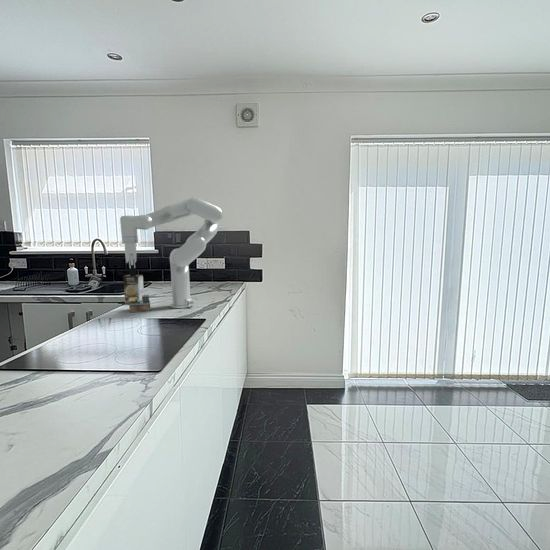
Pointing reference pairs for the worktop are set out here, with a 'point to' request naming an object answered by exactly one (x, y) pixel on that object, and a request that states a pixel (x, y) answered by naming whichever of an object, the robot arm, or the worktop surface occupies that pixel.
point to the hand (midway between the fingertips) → (133, 275)
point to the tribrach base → (139, 308)
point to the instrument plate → (139, 301)
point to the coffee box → (133, 287)
